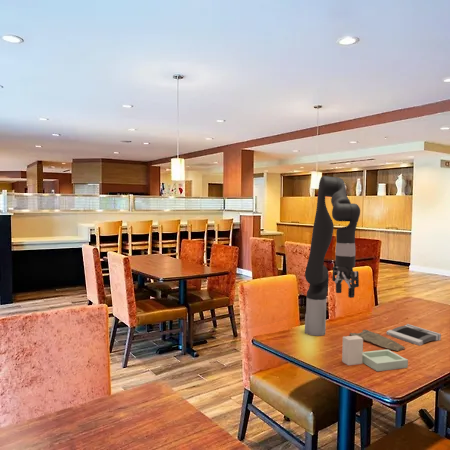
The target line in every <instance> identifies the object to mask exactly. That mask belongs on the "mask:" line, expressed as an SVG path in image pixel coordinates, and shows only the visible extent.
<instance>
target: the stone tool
mask: <svg viewBox="0 0 450 450" xmlns="http://www.w3.org/2000/svg"><path fill="white" fill-rule="evenodd" d="M356 335H357V336H359V337H361V338H363V341H365V342H368V343H371V344H373V345H376V346H379V347H382V348H385V349H388V350H392V351H396V352H399V351H402V350H404V349H406V347H405V346H403V345H402V344H400V343H398V342H396V341H395V340H393V339H390V338H388V337H386V336H383V335H381V334H379V333H377V332H373V331H371V330H368V329H362V330H361V332H358V333H356V332H350V333H349V336H356Z"/></svg>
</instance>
